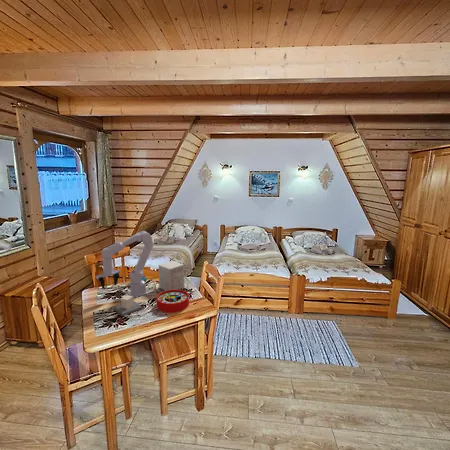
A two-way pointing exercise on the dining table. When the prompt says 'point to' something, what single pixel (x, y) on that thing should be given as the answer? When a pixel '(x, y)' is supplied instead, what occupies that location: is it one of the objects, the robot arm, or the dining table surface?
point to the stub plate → (127, 311)
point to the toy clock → (172, 301)
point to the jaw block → (127, 302)
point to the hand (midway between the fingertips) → (109, 286)
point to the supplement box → (171, 276)
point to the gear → (144, 278)
